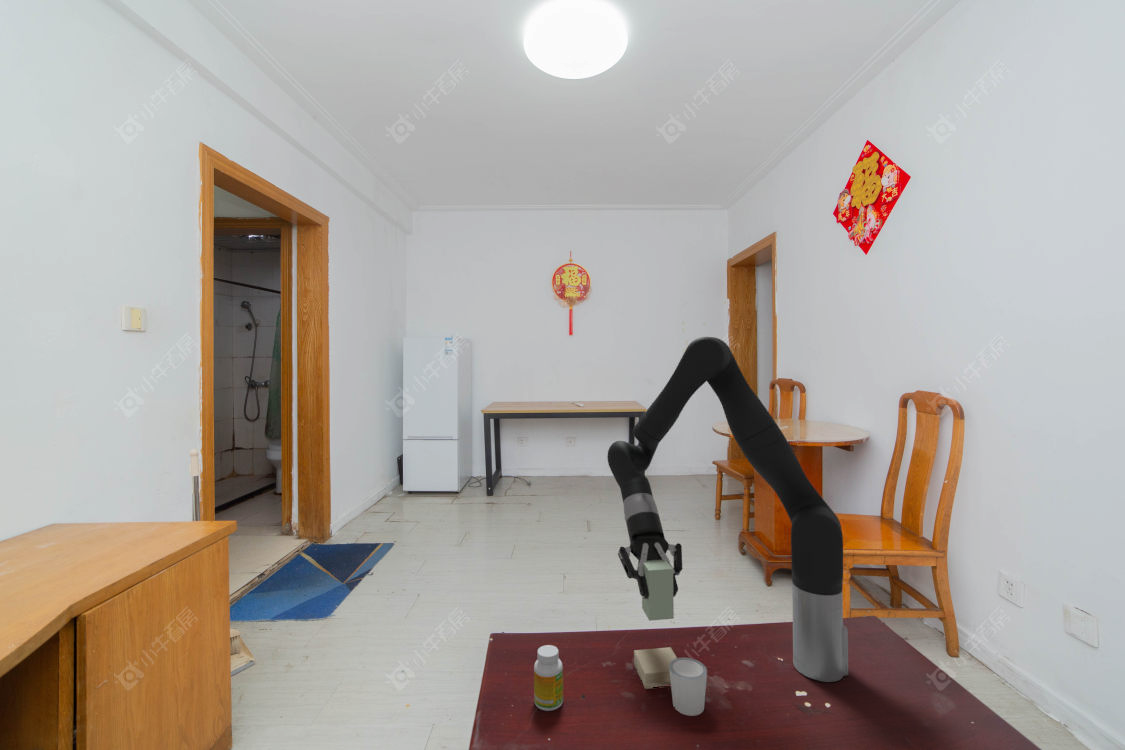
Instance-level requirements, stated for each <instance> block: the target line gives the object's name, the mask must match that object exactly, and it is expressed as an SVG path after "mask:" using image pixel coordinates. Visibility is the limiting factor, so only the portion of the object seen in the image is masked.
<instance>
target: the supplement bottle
mask: <svg viewBox="0 0 1125 750" xmlns="http://www.w3.org/2000/svg"><path fill="white" fill-rule="evenodd" d="M559 654H560V653H559V649H558V647H556V646H555V645H552V644H547V645H546V644H545V645H542V646H540V647H539V648H538V649H537V656H536V657H537V659H536V661H535V662H534V666H533V680H534V681H533V686H534V687H533V688H534V689H533V691H534V692H533V693H534V694H533V695H534V698H533V700H534V704H535V706H536V707H537V708H538V709H539V710H542V711H546V712H550V711H551V712H552V711H555V710H558V709H559V708H560V707H561V706H562V704H563V702H564V682H563V681H564V679H563V678H564V675H563V673H564V672H563V669H564V667H563V662H562V661H561V659H560V657H559Z"/></svg>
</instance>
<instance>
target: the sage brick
mask: <svg viewBox="0 0 1125 750" xmlns="http://www.w3.org/2000/svg"><path fill="white" fill-rule="evenodd" d="M671 566H672V565H671ZM671 566H670V565H669V564H668V562H667V561H665V562H664V561H662V560H650V561H646V563H643V568H644V577H646V582H647V587H648V591H649V597H648V599H644V597H643V596H641V608H642V610H643V613H644V614H645V616H646V617H647V620H648V621H659V620H660V621H661V620H662V621H663V620H672V619H673V620H674V619H675V617H674V616H675V615H674V612H675V611H674V610H675V609H674V608H675V607H674V605H675V604H674V597H673V568H674V567H673V566H672V567H673V568H672V567H671Z"/></svg>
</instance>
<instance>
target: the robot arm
mask: <svg viewBox="0 0 1125 750" xmlns="http://www.w3.org/2000/svg"><path fill="white" fill-rule="evenodd" d="M706 382H707V383H708V384H709V386H710V387H711V389H712V390H713V392H714V393H715V395H716V396H717V398H718V399H719V401H720V404H721V406H722V407H721V408H722V410H723V411H724V416H725V418H726V422H727V424H728V427H729V430H730V432H731V434H732V436H733V439H734V440H735V442H736V443H737V446H738V448H739V449H740V450H741V452H742V453H743V455H744V456H745V458H746V460H747V461H748V462H749V464H750V466H752V467H753V469H754V471H756V473H758V475H760V477H761V478H762V479H763V480H764V481H765V482H766V483H767V484H768V485H769V486H770V487H771V488H772V491H774V492H775V494H776V496H777V497H778V499H779V501H780V502H781V504H782V506H783V507H784V510H785V511H786V512H785V513H786V514H787V516H788V518H789V520H790V523H791V528H790V552H791V553H790V555H791V556H790V557H791V560H790V561H791V579H792V580H791V581H792V583H791V584H792V585H791V586H792V589H791V591H792V595H791V596H792V600H791V601H792V663H793V666H794V668H795V669H796V670H797V671H798V672H799V673H800V674H802V675H803V676H805V677H807V678H809V679H812V680H815V681H819V682H824V683H832V682H833V683H834V682H835V683H836V682H838V681H841V679H843V677H845V676H849V636H848V635H849V630H848V627H847V626H846V625H844V610H843V608H844V606H843V602H844V601H843V595H844V593H843V590H844V589H843V586H844V585H843V582H844V537H843V531H842V524H841V522H840V520H839V518H838V516H837V515H836V513H835V512H834V511H833V509H832V508H831V507H830V506H829V504H828V503H827V502H826V501H825V500H824V498H823V497H822V496H821V495H820V493H819V491H818V490H817V489H816V488H815V486H814V485H813V484H812V483H811V481H810V480H809V479H808V477H807V475H806V473H805V471H804V469H803V468H802V465H801V464H800V461H799V460H798V457H797V456H796V453H795V452H794V450H793V449H792V447H791V445H790V444H789V442H788V440H787V438H786V436H785V435H784V433H783V432H782V430H781V428H780V427H779V425H778V424H777V422H776V420H775V419H774V417H772V415H771V413H769V410H768V409H767V408H766V407H765V405H764V404H763V402H762V401H761V399H760V398H759V396H757V395H756V393H755V392H754V390H753V389H752V388H751V387H750V384H749V383H748V381H747V380H746V378H745V376H744V375H743V372H742V371H741V369H740V366H739V364H738V363H737V361H736V358H735V356H734V354H733V352H732V350H731V348H730V346H728V344H727V343H726V342H725V341H724V340H722V339H720V338H718V337H713V336H701V337H697V338H695V339H694V340H692V341H691V342H690V343H689V344H688V346H687V347H686V349H685V351H684V352H683V354H682V356H681V358H680V360H679V362H678V364H677V366H676V367H675V370H674V372H673V373H672V375H671V376H670V378H669V380H668V381H667V383H666V384H665V386H664V387H663V389H662V390H661V392H660V393H659V394H658V396H657V397H656V398H655V399H654V400H653V402H652V403H651V405H649V407H648V408H647V410H646V411H645V412H644V414H643V415H642V416H641V417H640V419H639V420H638V421H637V422H636V424H635V426H634V427H633V430H632V434H633V436H634V438H635V439H636V440H637V441H638V442H639V443H638V444H637V445H635V444H632V443H630V442H627V441H624V440H616V441H614V442H613V443H612V444H611V445H610V446H609V448H608V450H607V458H606V459H607V463H608V467H609V468H610V469H609V470H610V472H611V473H612V476H613V477H614V479H615V482H616V483H617V485H618V486H619V489H620V494H621V498H622V503H623V514H624V521H625V525H626V529H627V534H628V539H629V542H630V543H629V546H626V547H625V546H620V548H619V550H618V553H617V555H618V558H619V560H620V562H621V565H622V567H623V569H624V572H625V574H626V576H627V578H628V579H634V580H636V582H637V586H638V590H639V595H640V596H641V597H642V596H643V597H644V599H648V597H649V591H648V587H647V582H646V577H644V568H643V563H646V561H650V560H662V561H664V562H665V561H667V562H668V564H669V565H670V566H671V567H672V568H673V598H675V597H676V595H677V593H678V591H679V586H678V584H677V578H676V576H680V573H681V572H682V570H683V549H682V548H683V547H682V544H681V543H676V544H671V543H669V542H668V541H667V539H666V537H665V533H664V529H663V526H662V522H661V517H660V514H659V510H658V506H657V504H656V502H655V499H654V496H653V492H652V487H651V483H650V481H649V479H648V477H646V475H644V474H643V473H644V472H646V470H648V468H649V467H650V465H651V463H652V461H653V458H654V455H655V454H656V451H657V449H658V446H659V444H660V442H661V441H662V440H663V439H664V438H665V437H666V435H667V434H668V432H669V431H670V430H671V429H672V427H673V426H674V425H675V423H676V422H677V420H678V419H679V417H680V416H681V413H682V411H683V410H684V408H685V406H686V405H687V403H688V402H689V400H690V399H691V398H692V396H693V395H694V394H695V393H696V392H697V391H698V390H699V389H700V388H701V387H702V386H703V385H704V384H705V383H706ZM668 552H669V553H670V555H671V556H672V558H673V566H672V564H671V562H670V559H669V558H668V555H667V554H666V553H668ZM631 554H632V555H633V556H634V557H635V558H636V559H637V560H638V561H637V569H635V567H634V565H633V563H632V561H631V558H630V556H631Z"/></svg>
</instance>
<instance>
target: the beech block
mask: <svg viewBox="0 0 1125 750" xmlns="http://www.w3.org/2000/svg"><path fill="white" fill-rule="evenodd" d="M677 658H678V657H677V656H676V654H675V653H674V651H673V648H672V647H671V646H669V647H668V646H667V647H658V648H656V647H655V648H646V649H637V650H636V649H635V650H633V665H634V668H635V669H637V670H636V671H637V674H638V676H639V679H640V681H641V680H642V681H641V683H642V684H643V688H644V690H646V689H647V690H648V689H654V688H653V687H658V686H665V685H671V680H670V671H669V664H670V662H671V661H673V660H674V659H677Z"/></svg>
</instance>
